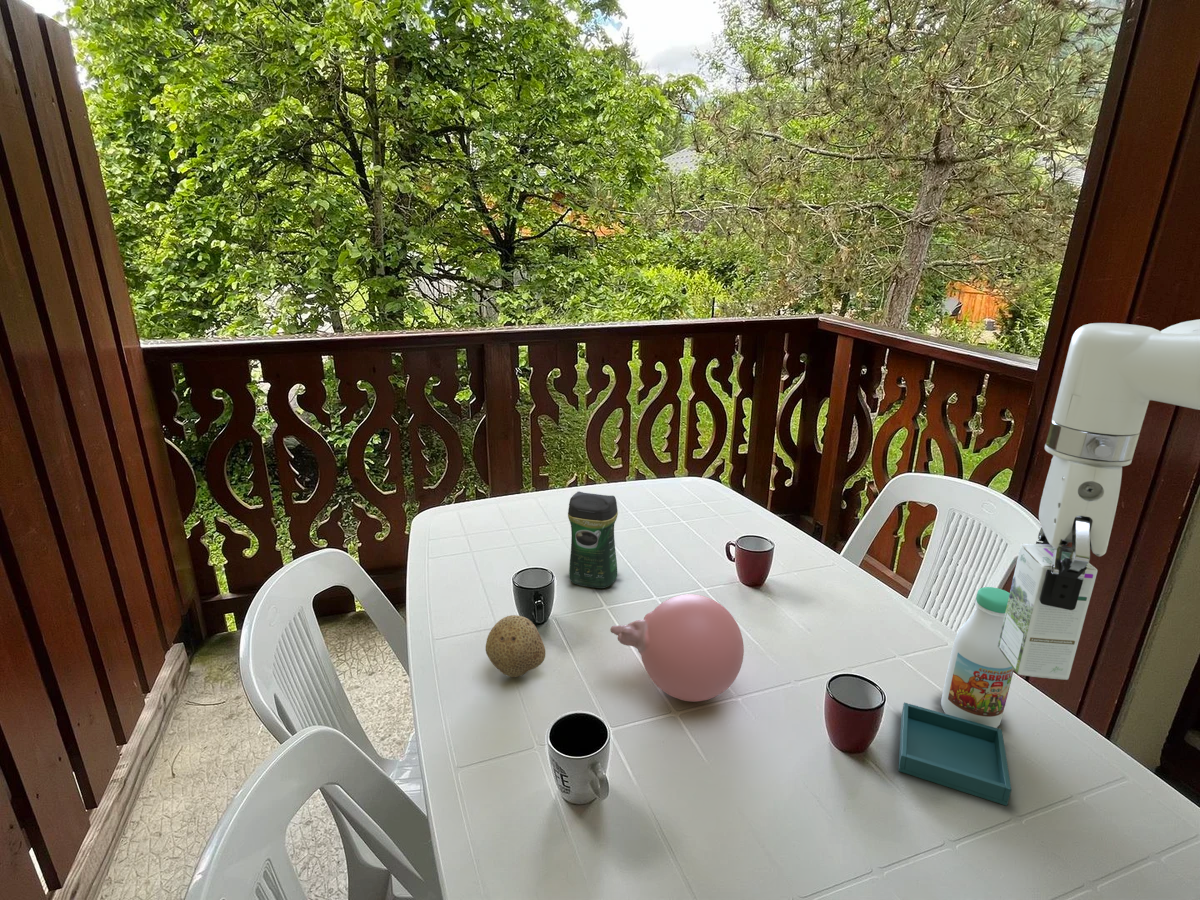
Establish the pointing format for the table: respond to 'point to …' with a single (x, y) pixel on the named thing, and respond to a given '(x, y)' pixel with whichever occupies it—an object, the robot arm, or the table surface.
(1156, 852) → the table surface
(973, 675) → the milk bottle
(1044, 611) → the syrup box
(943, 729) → the tray
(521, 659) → the natural sponge
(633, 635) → the balloon
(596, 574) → the coffee jar
